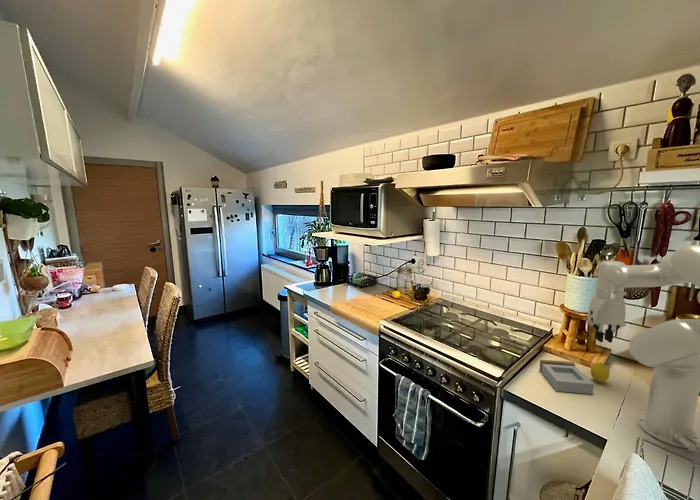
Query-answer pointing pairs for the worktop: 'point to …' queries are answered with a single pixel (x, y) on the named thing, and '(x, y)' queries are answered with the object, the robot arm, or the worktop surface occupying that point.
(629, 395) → the worktop surface
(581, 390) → the tray
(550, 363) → the wall
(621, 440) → the worktop surface
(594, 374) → the lemon
